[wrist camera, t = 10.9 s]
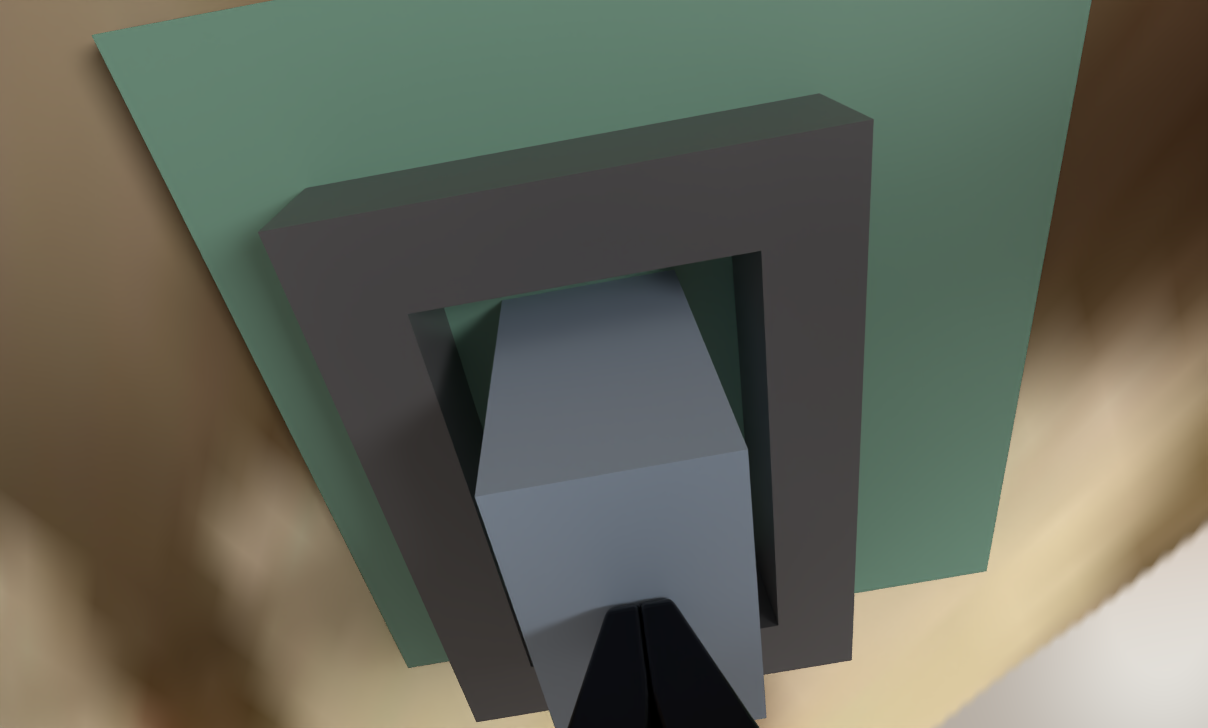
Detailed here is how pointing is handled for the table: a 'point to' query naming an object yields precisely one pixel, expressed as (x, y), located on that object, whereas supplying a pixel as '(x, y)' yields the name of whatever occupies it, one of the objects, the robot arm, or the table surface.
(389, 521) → the header socket
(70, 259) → the table surface
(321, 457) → the circuit board
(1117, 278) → the table surface
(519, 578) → the plug
